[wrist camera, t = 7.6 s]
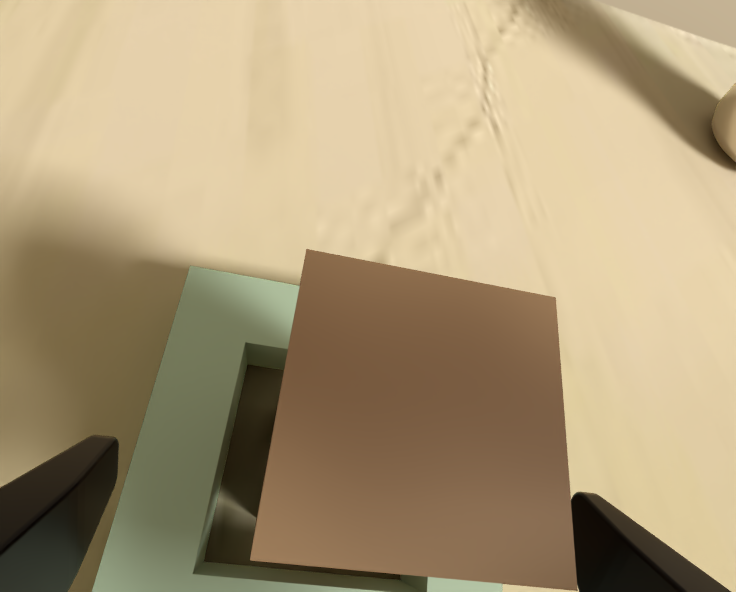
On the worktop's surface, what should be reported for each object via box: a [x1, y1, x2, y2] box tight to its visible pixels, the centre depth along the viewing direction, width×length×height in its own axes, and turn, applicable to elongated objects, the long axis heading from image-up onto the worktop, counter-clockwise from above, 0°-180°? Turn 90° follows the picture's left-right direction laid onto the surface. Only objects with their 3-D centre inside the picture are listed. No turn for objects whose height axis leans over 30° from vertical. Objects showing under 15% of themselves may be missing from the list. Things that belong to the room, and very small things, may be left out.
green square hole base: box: [92, 266, 503, 592], centre depth 17 cm, size 12×12×3 cm
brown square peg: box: [250, 249, 578, 591], centre depth 12 cm, size 4×4×13 cm
